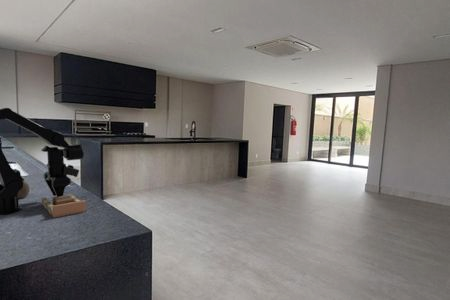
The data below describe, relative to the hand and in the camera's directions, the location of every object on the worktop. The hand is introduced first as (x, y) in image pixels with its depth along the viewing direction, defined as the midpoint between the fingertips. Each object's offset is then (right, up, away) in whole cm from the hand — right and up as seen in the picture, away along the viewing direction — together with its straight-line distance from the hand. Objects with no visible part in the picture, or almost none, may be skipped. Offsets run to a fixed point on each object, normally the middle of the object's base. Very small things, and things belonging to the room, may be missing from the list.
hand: (57, 197), depth 117 cm
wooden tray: (+6, -3, -6) cm, 9 cm away
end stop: (+13, -4, -14) cm, 19 cm away
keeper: (+6, -3, -7) cm, 10 cm away
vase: (-21, -1, +7) cm, 22 cm away
